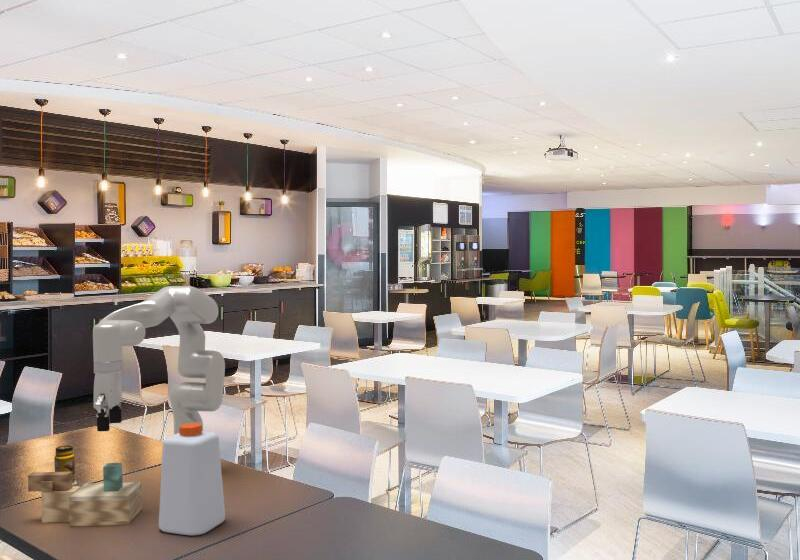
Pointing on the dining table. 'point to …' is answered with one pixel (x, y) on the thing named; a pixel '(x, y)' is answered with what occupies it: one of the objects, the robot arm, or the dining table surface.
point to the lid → (107, 486)
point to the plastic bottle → (191, 482)
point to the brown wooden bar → (60, 480)
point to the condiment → (65, 461)
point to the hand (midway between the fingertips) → (109, 426)
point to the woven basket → (86, 508)
